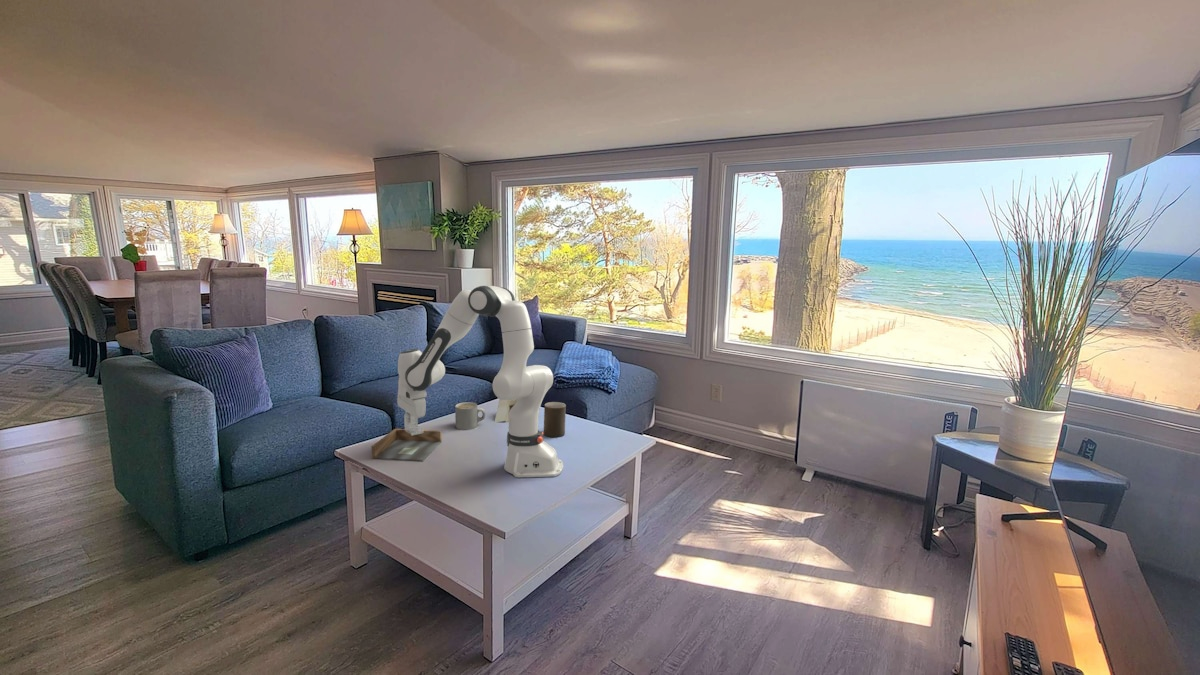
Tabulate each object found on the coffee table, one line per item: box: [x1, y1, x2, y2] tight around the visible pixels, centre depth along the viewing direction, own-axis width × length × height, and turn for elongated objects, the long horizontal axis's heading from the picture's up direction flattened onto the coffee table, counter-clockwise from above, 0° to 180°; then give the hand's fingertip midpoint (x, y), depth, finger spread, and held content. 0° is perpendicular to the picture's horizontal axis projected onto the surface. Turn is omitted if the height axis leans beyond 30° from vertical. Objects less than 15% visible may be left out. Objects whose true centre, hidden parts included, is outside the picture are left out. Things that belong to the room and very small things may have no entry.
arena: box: [371, 428, 443, 462], centre depth 203 cm, size 20×20×5 cm
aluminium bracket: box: [403, 413, 425, 436], centre depth 200 cm, size 7×5×7 cm
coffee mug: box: [454, 401, 486, 431], centre depth 232 cm, size 13×10×10 cm
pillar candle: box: [542, 401, 567, 438], centre depth 226 cm, size 10×10×15 cm
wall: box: [494, 399, 518, 423], centre depth 248 cm, size 16×9×15 cm
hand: (411, 422), depth 203 cm, fingers closed on aluminium bracket
